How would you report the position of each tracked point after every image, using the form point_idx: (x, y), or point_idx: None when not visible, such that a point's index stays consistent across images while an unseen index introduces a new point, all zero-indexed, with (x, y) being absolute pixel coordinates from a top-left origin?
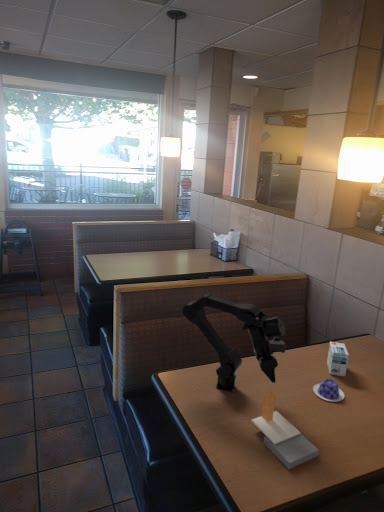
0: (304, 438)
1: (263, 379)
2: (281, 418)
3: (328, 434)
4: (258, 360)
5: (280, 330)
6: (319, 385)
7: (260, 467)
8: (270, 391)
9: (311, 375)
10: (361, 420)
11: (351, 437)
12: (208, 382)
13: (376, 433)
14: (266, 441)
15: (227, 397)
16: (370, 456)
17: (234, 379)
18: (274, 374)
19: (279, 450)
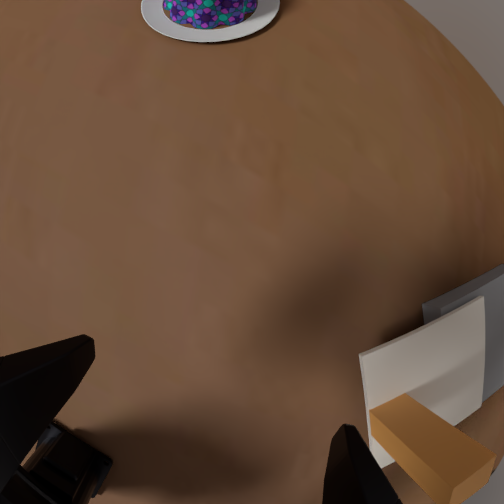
0: (489, 287)
1: (22, 256)
2: (412, 348)
3: (447, 159)
4: (6, 481)
5: None
6: (151, 6)
7: (474, 433)
8: (462, 485)
9: (77, 14)
10: (380, 11)
11: (453, 98)
12: None
13: (429, 26)
14: None
15: (155, 486)
16: (499, 114)
17: (78, 477)
18: (395, 499)
19: (491, 391)
